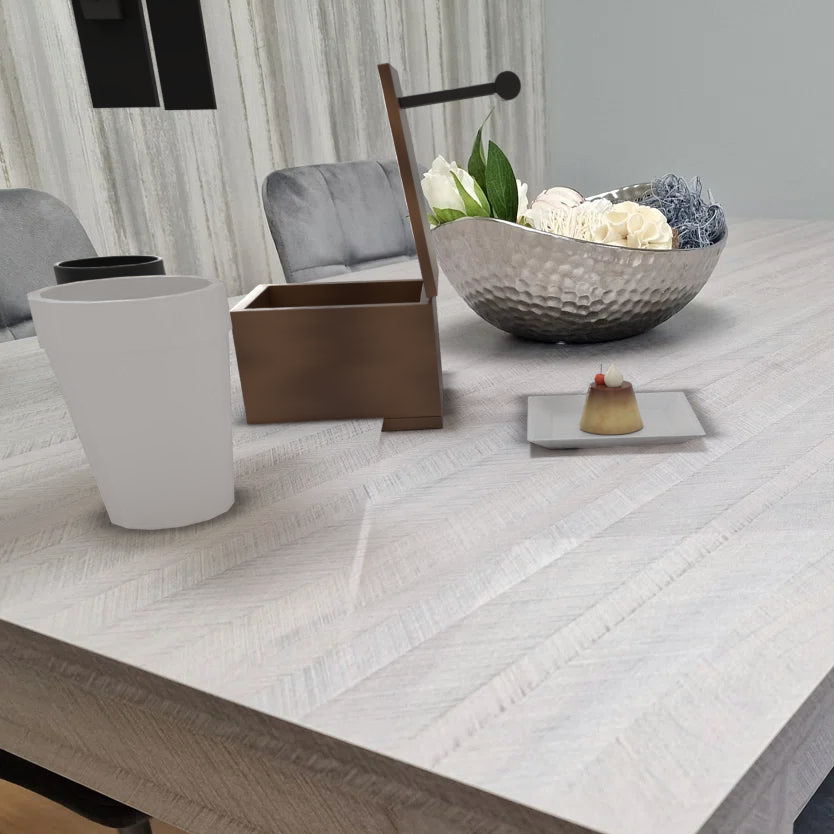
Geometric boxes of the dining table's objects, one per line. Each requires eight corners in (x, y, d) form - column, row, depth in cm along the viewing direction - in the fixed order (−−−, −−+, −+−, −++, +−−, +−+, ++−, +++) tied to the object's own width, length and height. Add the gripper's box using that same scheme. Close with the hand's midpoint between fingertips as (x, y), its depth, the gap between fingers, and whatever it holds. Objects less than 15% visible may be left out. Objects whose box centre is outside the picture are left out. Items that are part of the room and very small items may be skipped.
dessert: (528, 410, 80) (525, 348, 78) (682, 405, 81) (683, 343, 79) (527, 456, 70) (524, 385, 68) (705, 450, 70) (707, 379, 68)
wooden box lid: (376, 64, 66) (517, 42, 66) (386, 72, 77) (507, 53, 78) (426, 298, 72) (555, 276, 73) (429, 273, 84) (540, 254, 84)
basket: (249, 438, 75) (228, 311, 71) (275, 395, 86) (259, 284, 82) (442, 428, 76) (432, 303, 73) (443, 387, 88) (434, 278, 84)
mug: (67, 379, 93) (43, 274, 89) (80, 353, 103) (58, 258, 99) (179, 370, 96) (160, 267, 92) (181, 345, 106) (164, 252, 102)
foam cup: (290, 501, 62) (256, 275, 57) (211, 561, 54) (163, 304, 48) (145, 495, 64) (98, 274, 58) (47, 552, 55) (-18, 302, 50)
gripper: (62, -639, 33) (187, 104, 42) (213, -332, 55) (273, 109, 64) (-195, -656, 32) (-11, 108, 41) (65, -337, 54) (147, 111, 63)
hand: (163, 110), depth 53 cm, fingers open, 13 cm apart
